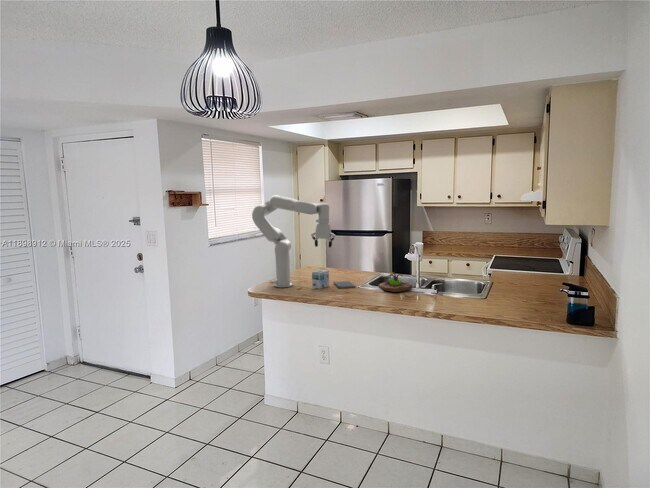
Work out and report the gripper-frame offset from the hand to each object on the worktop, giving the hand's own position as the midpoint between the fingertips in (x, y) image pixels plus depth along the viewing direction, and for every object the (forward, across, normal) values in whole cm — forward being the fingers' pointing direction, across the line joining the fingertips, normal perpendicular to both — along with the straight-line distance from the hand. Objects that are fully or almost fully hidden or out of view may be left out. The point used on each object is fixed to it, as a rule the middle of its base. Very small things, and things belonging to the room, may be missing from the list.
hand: (323, 246), depth 276 cm
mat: (+26, +15, +1) cm, 30 cm away
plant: (+26, +49, +2) cm, 55 cm away
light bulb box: (+27, +1, -6) cm, 27 cm away
